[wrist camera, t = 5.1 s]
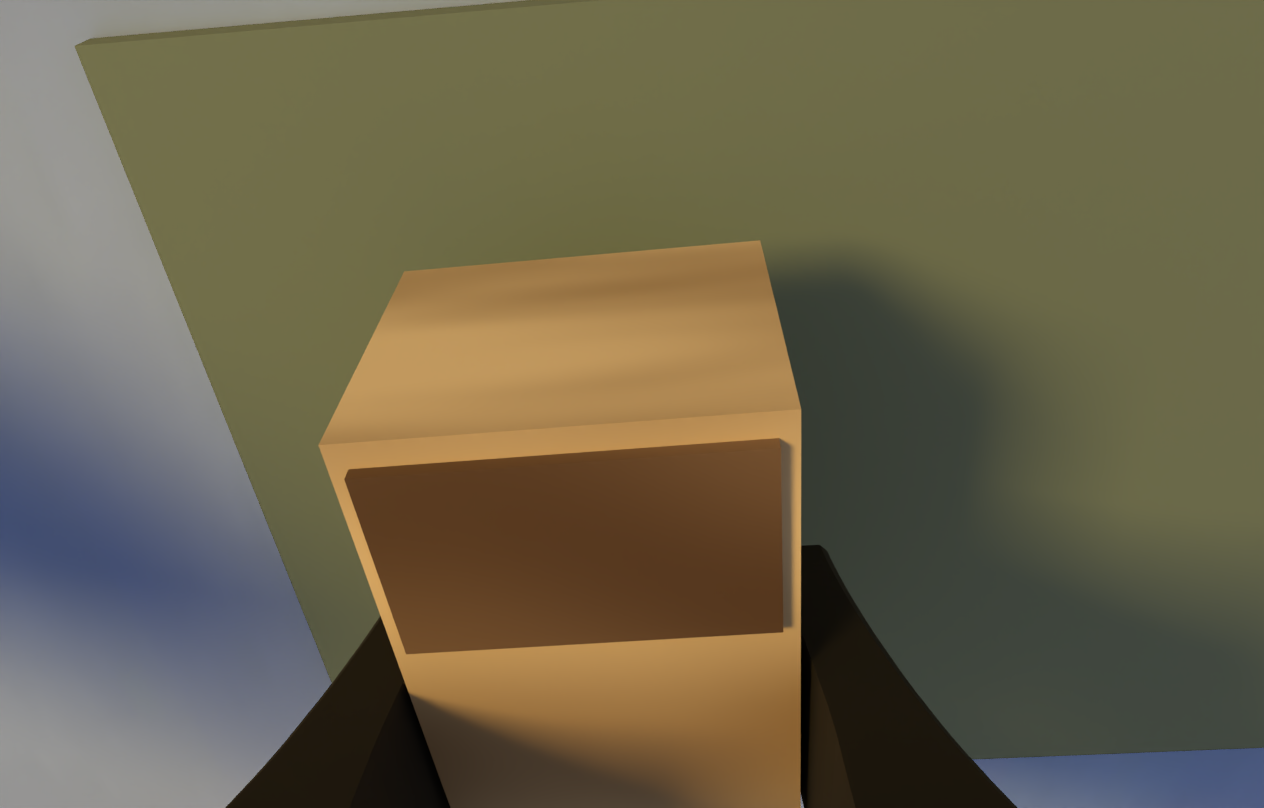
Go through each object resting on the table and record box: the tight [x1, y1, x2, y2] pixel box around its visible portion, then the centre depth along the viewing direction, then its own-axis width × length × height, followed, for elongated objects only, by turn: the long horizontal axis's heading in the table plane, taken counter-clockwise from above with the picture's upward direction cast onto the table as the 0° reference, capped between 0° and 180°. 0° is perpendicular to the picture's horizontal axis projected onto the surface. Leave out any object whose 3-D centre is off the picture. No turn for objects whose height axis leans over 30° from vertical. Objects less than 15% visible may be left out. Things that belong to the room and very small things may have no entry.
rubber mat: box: [75, 0, 1264, 759], centre depth 16 cm, size 24×16×1 cm, turn 95°
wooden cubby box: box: [319, 240, 801, 808], centre depth 13 cm, size 10×4×4 cm, turn 6°
